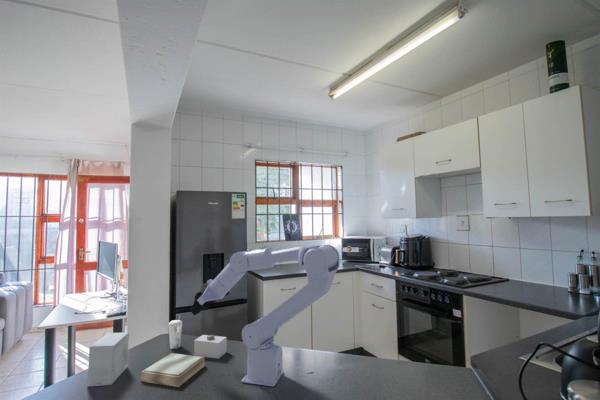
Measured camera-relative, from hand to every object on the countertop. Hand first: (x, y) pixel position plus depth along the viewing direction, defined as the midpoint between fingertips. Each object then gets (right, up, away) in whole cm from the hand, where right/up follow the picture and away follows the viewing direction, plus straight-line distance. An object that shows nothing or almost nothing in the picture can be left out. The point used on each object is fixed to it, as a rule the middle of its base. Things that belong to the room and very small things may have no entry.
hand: (200, 307), depth 96 cm
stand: (-5, -16, -9) cm, 19 cm away
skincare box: (-23, -16, -10) cm, 30 cm away
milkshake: (-12, -17, +10) cm, 23 cm away
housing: (+2, -17, +4) cm, 17 cm away
